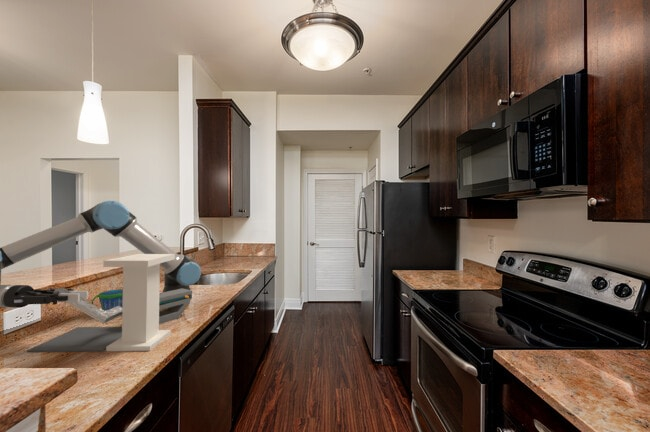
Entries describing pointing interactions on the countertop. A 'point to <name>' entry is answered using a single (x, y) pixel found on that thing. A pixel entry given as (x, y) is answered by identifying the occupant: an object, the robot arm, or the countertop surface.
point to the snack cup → (110, 299)
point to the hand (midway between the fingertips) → (83, 296)
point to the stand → (140, 301)
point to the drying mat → (81, 340)
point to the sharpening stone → (173, 304)
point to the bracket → (92, 308)
